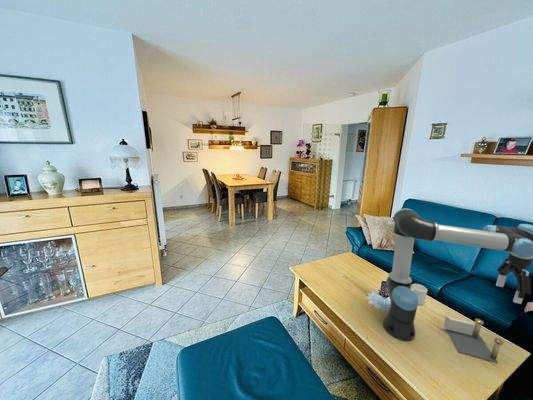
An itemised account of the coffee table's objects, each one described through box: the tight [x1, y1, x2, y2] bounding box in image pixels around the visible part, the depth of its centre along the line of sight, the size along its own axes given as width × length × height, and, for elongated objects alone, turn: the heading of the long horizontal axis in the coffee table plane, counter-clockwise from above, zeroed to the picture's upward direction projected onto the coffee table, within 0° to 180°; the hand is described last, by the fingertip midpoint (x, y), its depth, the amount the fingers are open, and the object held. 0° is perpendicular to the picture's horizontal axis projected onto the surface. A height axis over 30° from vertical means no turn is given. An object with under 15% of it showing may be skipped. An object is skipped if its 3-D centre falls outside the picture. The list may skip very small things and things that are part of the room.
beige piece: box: [443, 315, 475, 335], centre depth 118 cm, size 12×2×7 cm, turn 69°
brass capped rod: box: [490, 337, 504, 360], centre depth 103 cm, size 3×3×11 cm
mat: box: [445, 329, 499, 364], centre depth 113 cm, size 15×17×1 cm
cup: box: [411, 283, 428, 306], centre depth 142 cm, size 8×12×10 cm
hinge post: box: [472, 317, 485, 339], centre depth 115 cm, size 3×3×11 cm
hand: (507, 293), depth 110 cm, fingers open, 13 cm apart
